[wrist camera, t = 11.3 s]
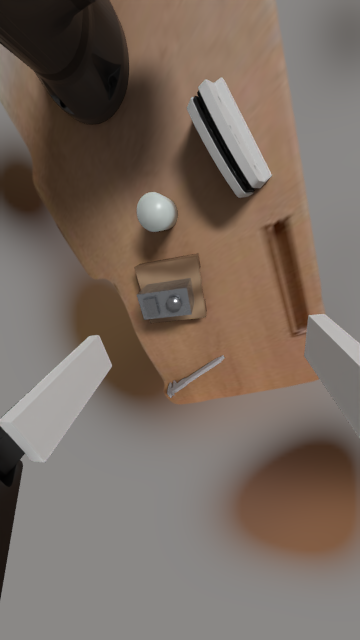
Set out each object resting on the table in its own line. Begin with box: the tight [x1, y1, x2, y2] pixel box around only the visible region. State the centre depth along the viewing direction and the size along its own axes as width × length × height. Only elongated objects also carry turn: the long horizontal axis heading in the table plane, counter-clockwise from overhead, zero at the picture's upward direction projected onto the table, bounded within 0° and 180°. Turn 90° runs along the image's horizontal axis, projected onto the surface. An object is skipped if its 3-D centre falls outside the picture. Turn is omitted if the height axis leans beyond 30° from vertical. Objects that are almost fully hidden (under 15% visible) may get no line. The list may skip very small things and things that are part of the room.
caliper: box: [167, 355, 225, 398], centre depth 56 cm, size 20×1×6 cm, turn 130°
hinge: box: [187, 77, 272, 198], centre depth 31 cm, size 17×5×10 cm, turn 38°
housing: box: [137, 278, 195, 320], centre depth 40 cm, size 10×6×8 cm, turn 101°
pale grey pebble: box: [137, 192, 178, 232], centre depth 37 cm, size 6×6×8 cm
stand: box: [134, 254, 207, 323], centre depth 46 cm, size 14×14×4 cm
